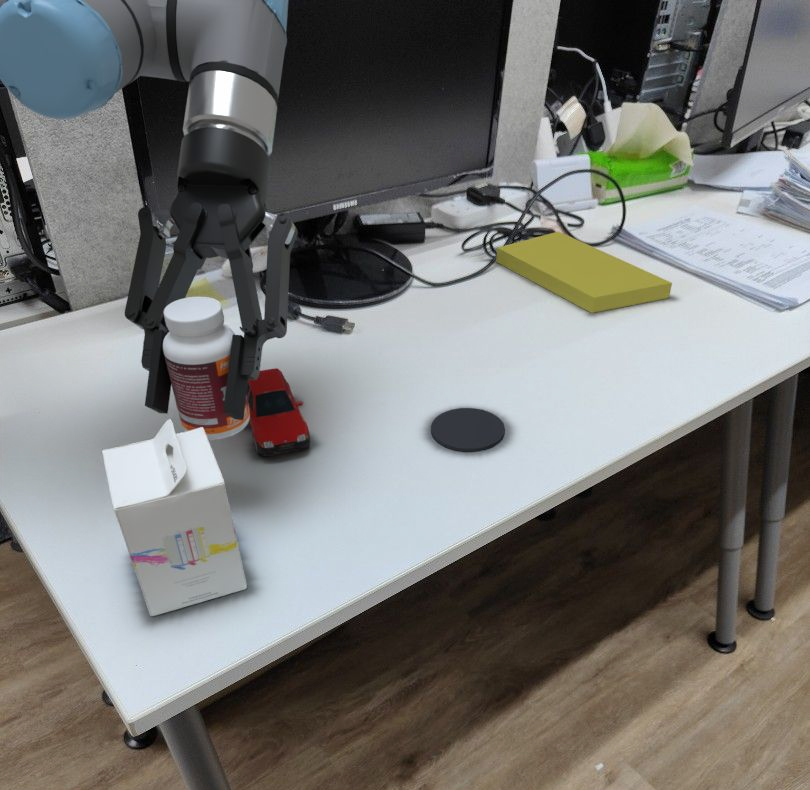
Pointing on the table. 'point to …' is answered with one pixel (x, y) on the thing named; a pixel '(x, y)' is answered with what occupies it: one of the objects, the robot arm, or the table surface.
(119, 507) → the ink box
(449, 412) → the coaster
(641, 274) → the flat mustard tile
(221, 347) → the pill bottle
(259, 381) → the toy car
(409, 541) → the table surface
